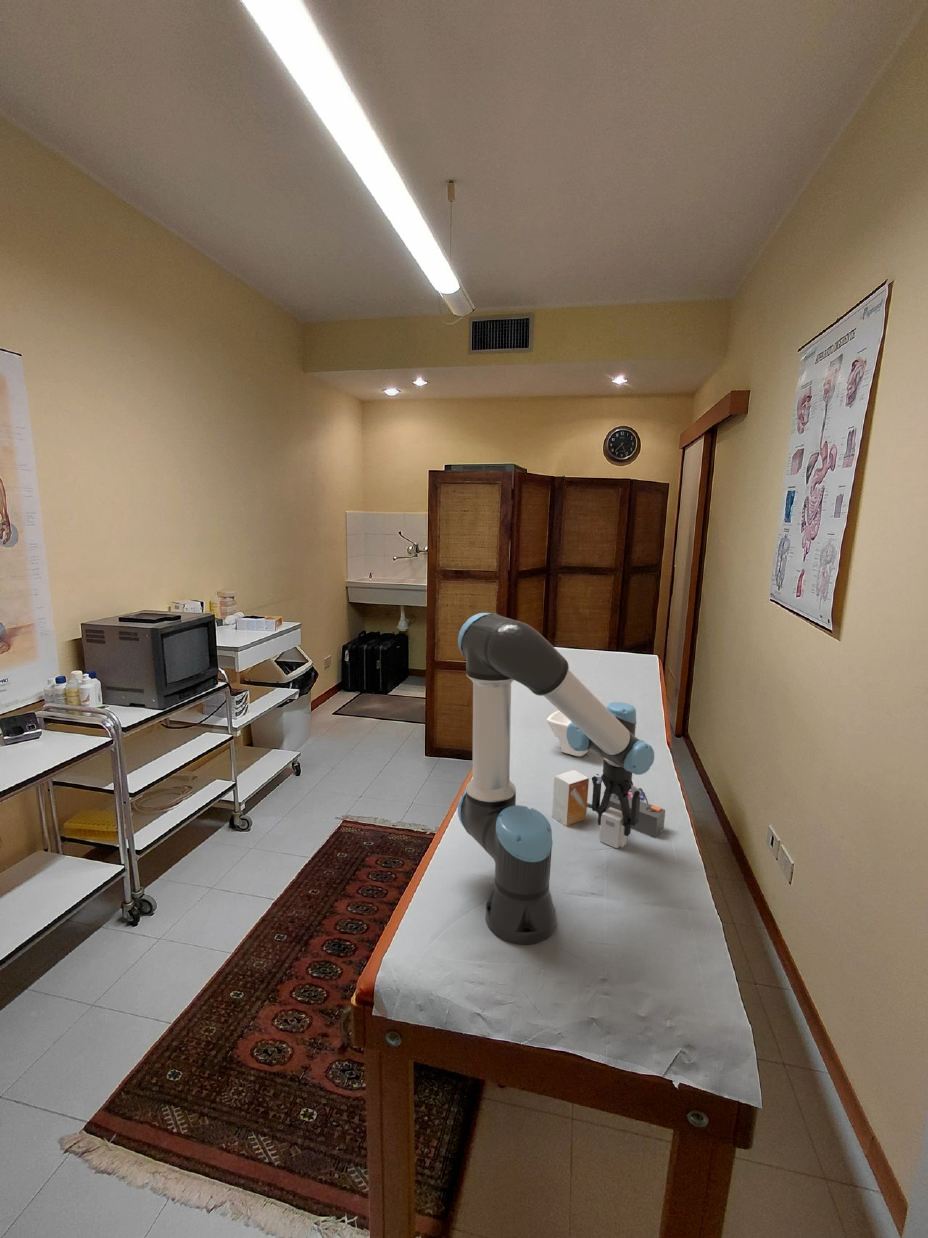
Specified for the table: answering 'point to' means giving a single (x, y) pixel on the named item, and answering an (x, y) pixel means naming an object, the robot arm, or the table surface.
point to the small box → (570, 797)
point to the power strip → (642, 816)
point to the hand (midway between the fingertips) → (613, 840)
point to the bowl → (562, 732)
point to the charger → (611, 827)
